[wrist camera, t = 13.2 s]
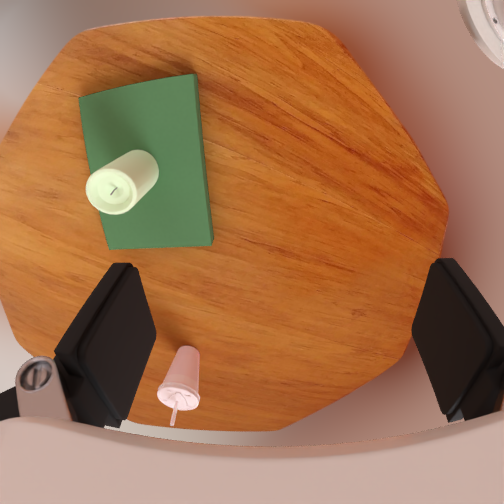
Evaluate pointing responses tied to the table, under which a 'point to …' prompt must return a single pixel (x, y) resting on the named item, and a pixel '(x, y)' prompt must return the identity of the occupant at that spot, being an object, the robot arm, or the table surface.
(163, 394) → the smoothie
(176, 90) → the foam
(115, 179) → the candle
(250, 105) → the table surface
